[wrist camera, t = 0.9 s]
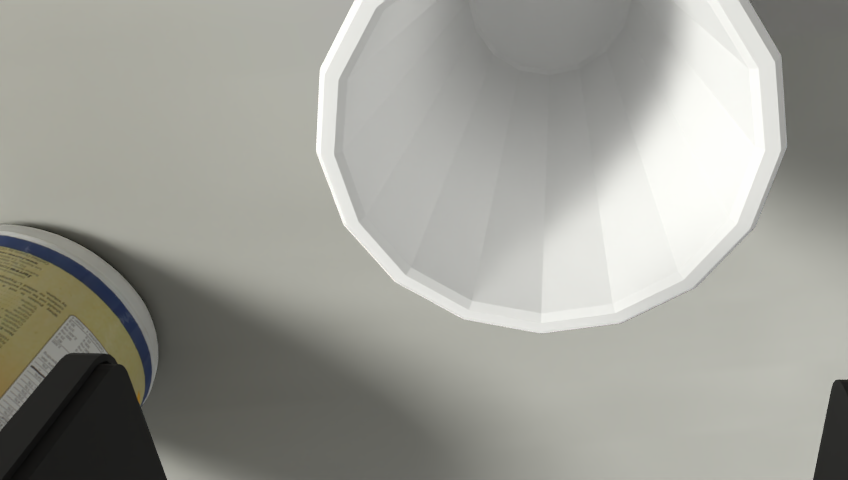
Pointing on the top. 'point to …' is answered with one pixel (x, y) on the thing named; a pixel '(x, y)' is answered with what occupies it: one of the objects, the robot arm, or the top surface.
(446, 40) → the cup
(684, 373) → the top surface
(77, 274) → the supplement tub
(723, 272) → the top surface
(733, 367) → the top surface
